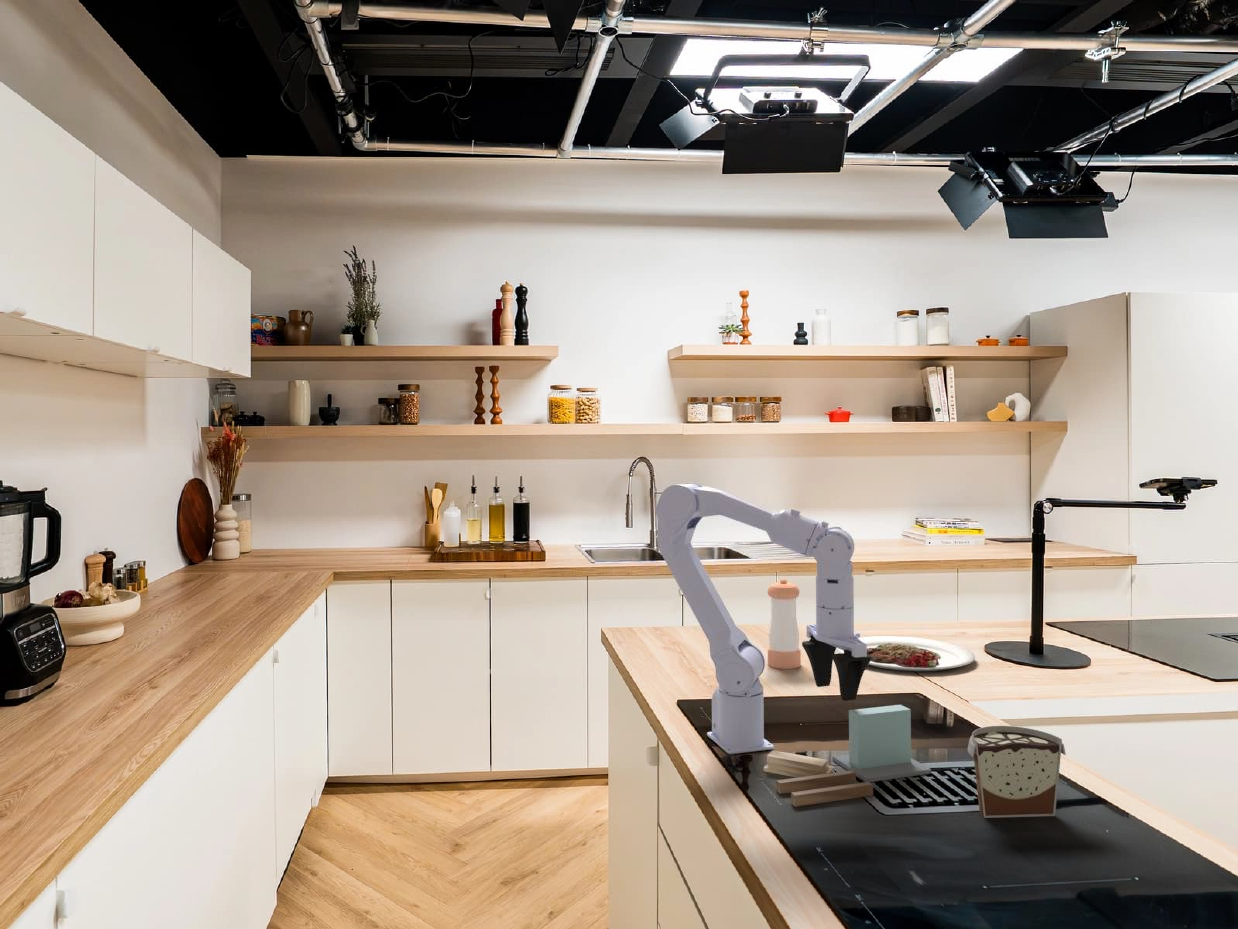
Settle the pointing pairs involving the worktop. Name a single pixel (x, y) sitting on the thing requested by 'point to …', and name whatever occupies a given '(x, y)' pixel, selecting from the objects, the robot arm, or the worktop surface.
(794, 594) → the pepper shaker
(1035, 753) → the food container
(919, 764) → the slate mat
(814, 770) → the offcut planks
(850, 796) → the walnut rack
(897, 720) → the tall board
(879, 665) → the plated food
